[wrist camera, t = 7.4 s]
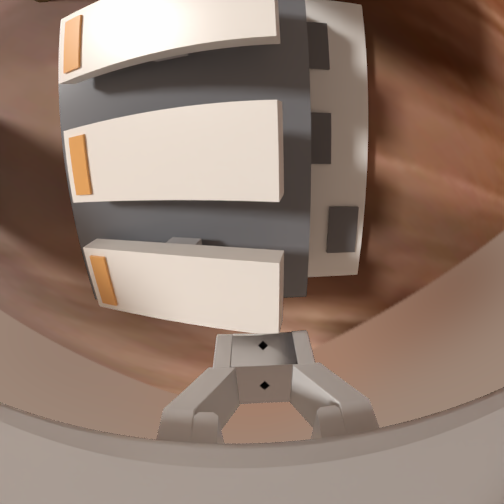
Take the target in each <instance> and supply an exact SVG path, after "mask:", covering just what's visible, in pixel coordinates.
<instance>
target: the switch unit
mask: <svg viewBox="0 0 504 504" xmlns="http://www.w3.org/2000/svg"><path fill="white" fill-rule="evenodd" d="M278 9H279V25H280V44H266V45H251V46H240V47H230V48H221V49H214V50H207V51H200V52H194V53H188V56H184V57H179V58H173V59H168V60H164V61H159V62H155V61H149V62H145V63H141V64H137V65H133V66H130V67H126V68H122V69H119V70H115V71H112V72H109V73H106V74H102V75H99V76H96V77H93V78H90V79H87V80H85V81H82V82H79V83H76V84H59V108H60V123H61V135H62V145H63V154H64V162H65V169H66V176H67V182H68V188H69V194H70V200H71V205H72V210H73V215H74V220H75V225H76V229H77V234H78V238H79V242H80V246H81V250H82V254H83V258H84V262H85V266H86V269H87V273H88V276H89V280H90V283H91V286H92V290H93V293H94V296H95V299H97V296H96V293H95V290H94V286H93V283H92V279H91V276H90V272H89V269H88V265H87V261H86V258H85V254H84V250H83V247H84V246H86V245H87V244H89V243H91V242H92V241H94V240H95V239H113V240H129V241H145V242H161V243H166V242H167V241H168V240H170V239H171V238H172V237H182V238H200V239H201V240H202V245H208V246H223V247H239V248H254V249H269V250H284V287H283V298H287V297H306V296H307V280H308V277H321V276H341V275H357V274H358V266H359V258H360V250H361V241H362V231H363V221H364V209H365V196H366V180H367V158H368V80H367V59H366V44H365V32H364V22H363V12H362V5H360V4H353V3H347V2H340V1H332V0H278ZM60 26H61V24H60ZM59 41H60V38H59ZM252 100H279V101H282V110H283V154H284V195H283V197H282V198H281V200H280V202H264V201H224V200H139V201H101V202H77V203H73V199H72V193H71V187H70V181H69V174H68V167H67V160H66V151H65V142H64V132H63V131H66V130H70V129H73V128H77V127H81V126H84V125H88V124H92V123H97V122H101V121H105V120H110V119H114V118H119V117H124V116H129V115H134V114H139V113H145V112H150V111H157V110H163V109H170V108H177V107H184V106H192V105H201V104H211V103H222V102H235V101H252Z"/></svg>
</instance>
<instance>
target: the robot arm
mask: <svg viewBox="0 0 504 504" xmlns="http://www.w3.org/2000/svg"><path fill="white" fill-rule="evenodd" d="M263 402H290V403H291V404H292V405H293V406H294V407H295V408H296V410H297V411H298V412H299V413H300V414H301V415H302V416H303V417H304V418H305V420H307V422H308V423H309V424H310V425H311V426H312V427H313V432H312V436H311V439H310V440H300V441H288V442H275V443H253V444H252V443H250V444H224V440H223V436H222V431H221V430H222V428H223V427H224V426H225V424H226V423H227V422H228V420H229V419H230V417H231V416H232V415H233V414H234V412H235V411H236V410H237V408H238V407H239V404H248V403H263ZM0 504H504V387H503V388H501V389H499V390H497V391H494V392H492V393H490V394H487V395H485V396H483V397H480V398H477V399H475V400H472V401H470V402H467V403H464V404H462V405H459V406H456V407H453V408H450V409H447V410H444V411H441V412H438V413H435V414H431V415H428V416H425V417H421V418H418V419H414V420H411V421H407V422H403V423H399V424H395V425H391V426H386V427H382V428H379V425H378V423H377V420H376V416H375V414H374V411H373V408H372V405H371V402H370V400H369V399H368V398H367V397H366V396H364V395H363V394H362V393H360V392H359V391H357V390H356V389H355V388H353V387H352V386H351V385H349V384H348V383H346V382H345V381H344V380H342V379H341V378H340V377H338V376H337V375H335V374H334V373H333V372H332V371H330V370H329V369H327V368H326V367H325V366H324V365H322V364H321V363H315V359H314V355H313V351H312V347H311V344H310V340H309V336H308V332H307V331H306V330H302V331H292V332H281V333H263V334H262V333H260V334H218V335H217V337H216V345H215V353H214V362H213V368H208V369H206V370H205V371H204V372H203V373H202V374H201V375H200V376H199V377H198V378H197V379H196V380H195V381H194V382H193V383H191V384H190V385H189V386H188V387H187V388H186V389H185V390H184V391H183V392H182V393H181V394H179V395H178V396H177V397H176V398H175V399H174V400H173V401H172V402H171V403H170V404H169V405H167V406H166V407H165V408H164V409H163V413H162V418H161V422H160V426H159V431H158V435H157V439H156V440H155V439H146V438H139V437H132V436H125V435H118V434H113V433H108V432H102V431H97V430H92V429H88V428H83V427H79V426H75V425H71V424H66V423H63V422H59V421H55V420H52V419H48V418H45V417H42V416H38V415H35V414H31V413H29V412H26V411H23V410H20V409H17V408H14V407H11V406H9V405H6V404H3V403H1V402H0Z"/></svg>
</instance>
